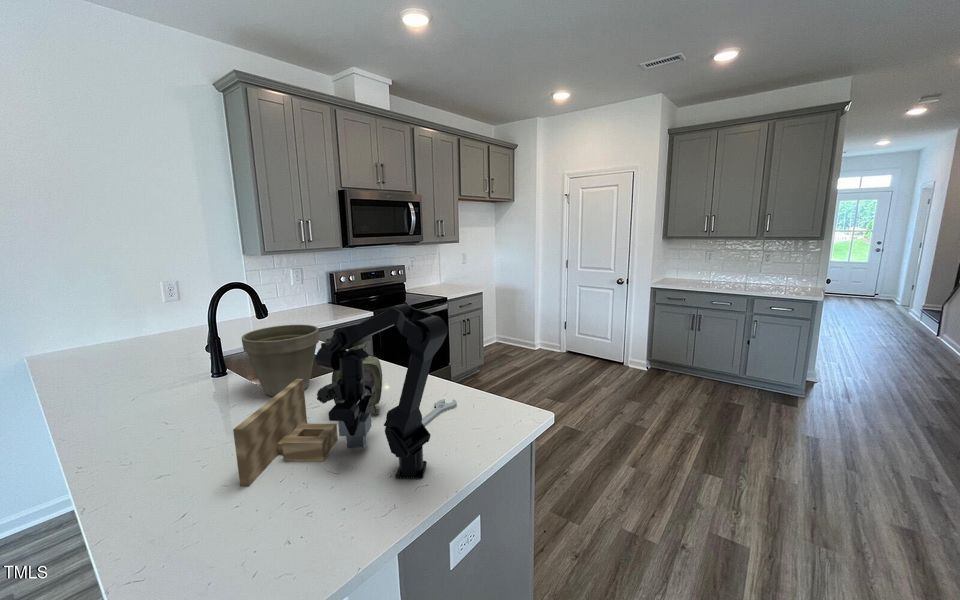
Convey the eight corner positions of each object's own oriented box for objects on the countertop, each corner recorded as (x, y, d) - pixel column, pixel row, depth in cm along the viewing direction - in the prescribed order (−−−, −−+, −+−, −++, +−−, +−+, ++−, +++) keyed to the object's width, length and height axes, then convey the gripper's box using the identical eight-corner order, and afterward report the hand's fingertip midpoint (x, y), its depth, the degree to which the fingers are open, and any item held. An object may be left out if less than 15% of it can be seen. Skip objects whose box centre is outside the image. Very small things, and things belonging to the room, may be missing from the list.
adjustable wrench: (410, 440, 111) (409, 434, 110) (392, 434, 114) (392, 429, 114) (459, 405, 132) (459, 400, 132) (443, 401, 135) (443, 396, 135)
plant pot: (252, 382, 152) (246, 327, 148) (321, 372, 162) (317, 320, 158) (243, 408, 130) (236, 344, 126) (324, 395, 139) (319, 336, 136)
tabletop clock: (334, 421, 121) (328, 342, 116) (338, 408, 130) (333, 334, 125) (383, 416, 124) (379, 339, 119) (384, 404, 132) (380, 331, 128)
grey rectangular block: (366, 450, 102) (364, 421, 101) (340, 450, 102) (338, 421, 101) (372, 440, 107) (370, 412, 106) (347, 440, 107) (345, 412, 106)
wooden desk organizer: (305, 486, 90) (300, 429, 88) (240, 486, 90) (233, 429, 88) (349, 422, 120) (346, 378, 117) (300, 422, 120) (296, 378, 117)
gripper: (334, 361, 110) (338, 413, 113) (304, 387, 92) (309, 449, 95) (374, 361, 110) (377, 413, 113) (351, 387, 92) (356, 449, 95)
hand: (355, 430), depth 104 cm, fingers closed on grey rectangular block, 5 cm apart
